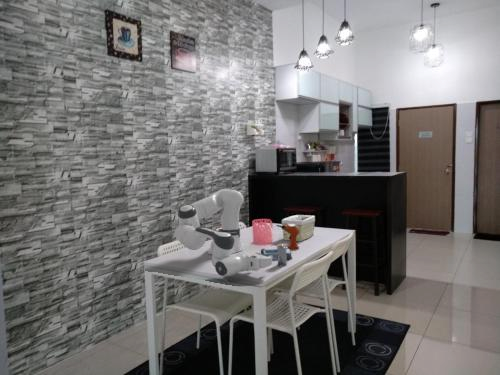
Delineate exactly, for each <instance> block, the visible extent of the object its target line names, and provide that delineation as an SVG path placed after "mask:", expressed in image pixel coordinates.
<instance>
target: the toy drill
mask: <svg viewBox="0 0 500 375" xmlns="http://www.w3.org/2000/svg"><path fill="white" fill-rule="evenodd" d="M276 227H278V228H281V229H282V230H283V229H284V230H285V231H286V232H288V233H289V234H291V235H290V237H289V239H290V240H289V242H290V244H289V245H287V249H289V250H293V251H296V250H299V249H300V247H299V245H298V243H297V241H296V237H297V235H298V234H299V229H298V228H297V227H295V226H284V225H283V226H282V225H279V224H276Z"/></svg>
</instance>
